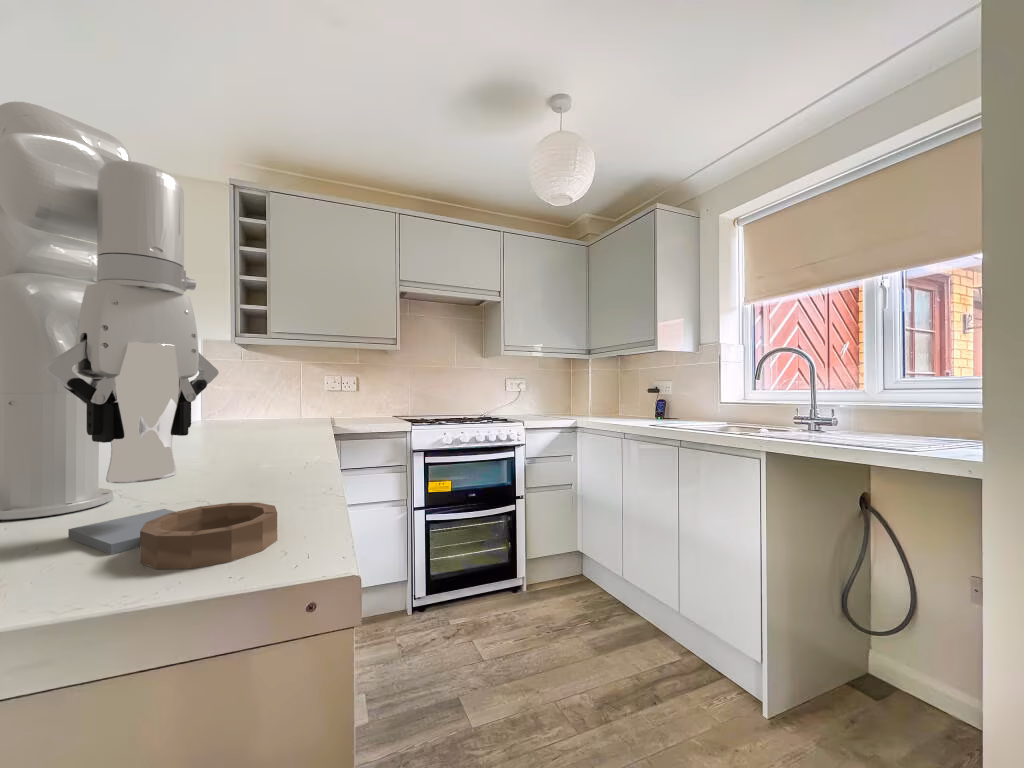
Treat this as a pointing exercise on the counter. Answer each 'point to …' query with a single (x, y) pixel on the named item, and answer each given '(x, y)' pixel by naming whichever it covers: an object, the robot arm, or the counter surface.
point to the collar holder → (207, 535)
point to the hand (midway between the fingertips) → (142, 436)
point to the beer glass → (144, 414)
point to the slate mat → (115, 532)
